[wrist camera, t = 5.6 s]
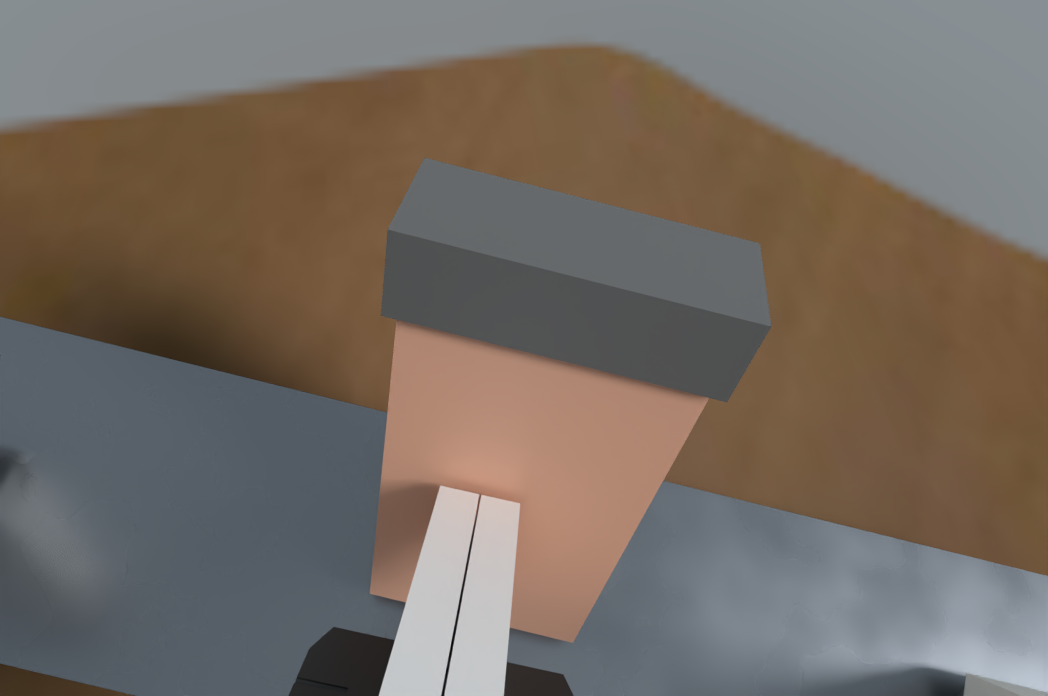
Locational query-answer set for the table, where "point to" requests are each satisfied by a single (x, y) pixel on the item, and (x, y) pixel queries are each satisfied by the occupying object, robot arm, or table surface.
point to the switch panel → (348, 548)
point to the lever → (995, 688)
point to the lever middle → (549, 372)
